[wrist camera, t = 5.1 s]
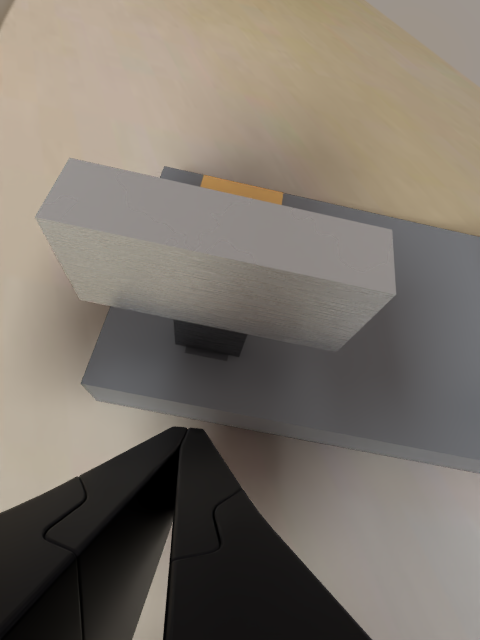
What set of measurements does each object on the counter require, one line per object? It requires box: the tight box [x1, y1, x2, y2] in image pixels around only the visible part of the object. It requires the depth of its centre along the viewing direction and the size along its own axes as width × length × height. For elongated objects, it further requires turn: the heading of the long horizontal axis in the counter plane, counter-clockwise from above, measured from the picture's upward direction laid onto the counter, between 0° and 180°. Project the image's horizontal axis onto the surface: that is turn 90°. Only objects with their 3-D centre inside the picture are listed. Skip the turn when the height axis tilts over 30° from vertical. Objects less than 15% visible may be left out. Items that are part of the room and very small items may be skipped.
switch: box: [35, 158, 396, 357], centre depth 13 cm, size 2×10×7 cm, turn 81°
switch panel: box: [81, 166, 480, 473], centre depth 20 cm, size 14×30×3 cm, turn 81°
